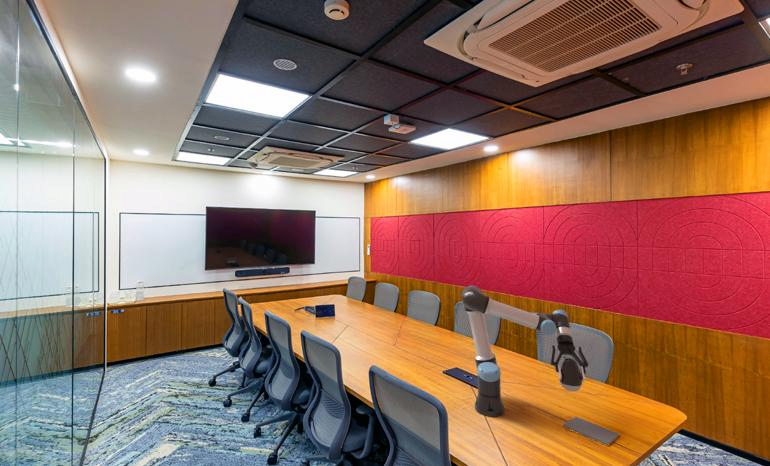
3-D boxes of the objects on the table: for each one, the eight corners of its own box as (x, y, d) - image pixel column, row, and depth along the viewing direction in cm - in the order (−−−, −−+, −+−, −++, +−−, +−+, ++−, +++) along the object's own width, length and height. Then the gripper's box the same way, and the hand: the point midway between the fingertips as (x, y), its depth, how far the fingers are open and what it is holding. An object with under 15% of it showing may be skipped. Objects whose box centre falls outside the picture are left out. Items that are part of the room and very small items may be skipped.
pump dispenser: (574, 383, 180) (573, 354, 180) (587, 393, 170) (586, 361, 170) (555, 384, 180) (554, 355, 180) (566, 394, 169) (565, 362, 169)
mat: (607, 446, 155) (607, 444, 155) (562, 426, 172) (562, 424, 172) (619, 436, 163) (619, 434, 163) (575, 418, 179) (575, 416, 179)
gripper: (586, 342, 187) (596, 384, 171) (541, 340, 193) (546, 380, 177) (588, 335, 181) (599, 378, 166) (542, 333, 188) (548, 374, 172)
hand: (572, 379), depth 172 cm, fingers closed on pump dispenser, 10 cm apart
